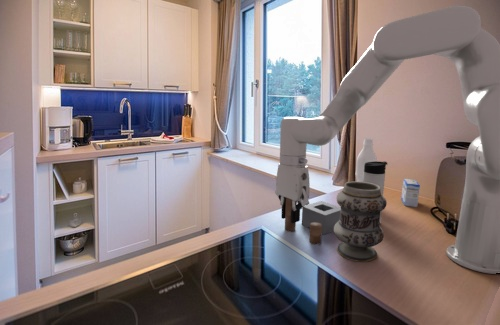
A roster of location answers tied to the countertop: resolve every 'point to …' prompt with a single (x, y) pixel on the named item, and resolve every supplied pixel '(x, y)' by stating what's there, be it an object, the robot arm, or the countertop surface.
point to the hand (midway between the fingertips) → (290, 219)
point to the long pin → (289, 216)
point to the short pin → (315, 233)
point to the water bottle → (365, 158)
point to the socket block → (321, 215)
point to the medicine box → (410, 192)
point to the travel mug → (375, 174)
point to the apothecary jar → (359, 220)
